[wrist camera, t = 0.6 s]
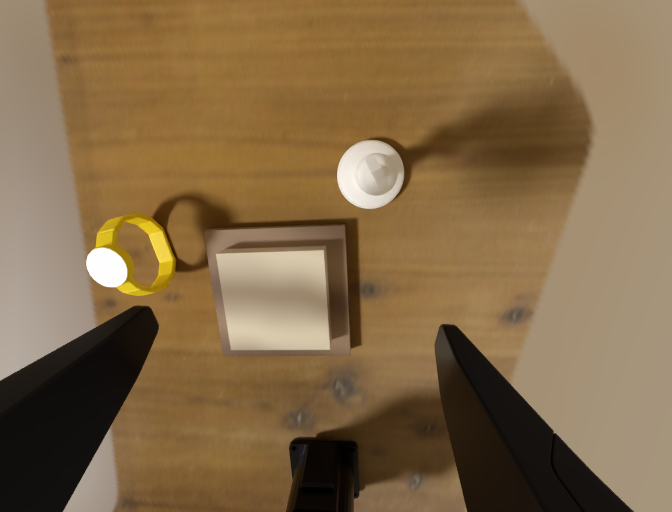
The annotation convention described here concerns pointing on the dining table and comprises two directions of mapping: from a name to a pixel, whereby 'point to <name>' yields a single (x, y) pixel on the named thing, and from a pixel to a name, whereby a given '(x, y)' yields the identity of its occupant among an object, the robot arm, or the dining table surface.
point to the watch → (116, 263)
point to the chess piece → (370, 174)
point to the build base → (287, 239)
